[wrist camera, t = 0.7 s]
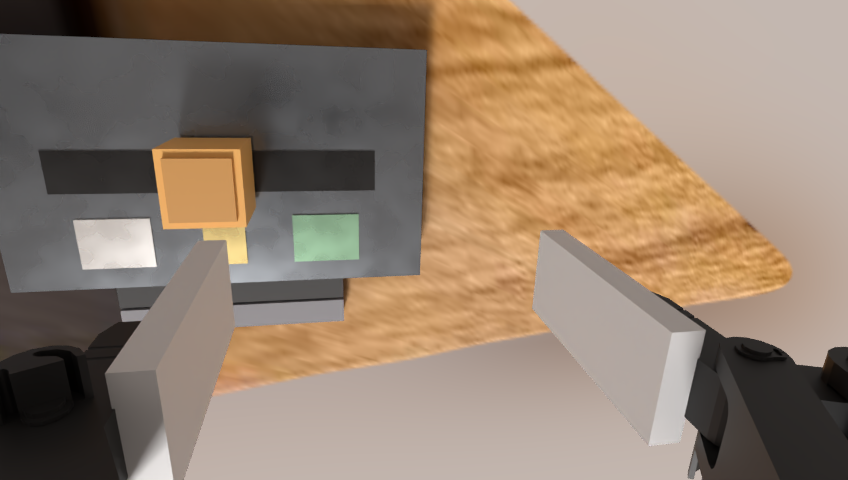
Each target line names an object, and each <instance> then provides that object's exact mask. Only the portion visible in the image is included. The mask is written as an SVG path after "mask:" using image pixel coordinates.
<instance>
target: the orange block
mask: <svg viewBox="0 0 848 480" xmlns="http://www.w3.org/2000/svg"><path fill="white" fill-rule="evenodd" d="M152 154H153V161H154V168H155V175H156V182H157V189H158V196H159V203H160V211H161V218H162V225H163V229H197V228H237V227H247V226H248V223H249V221H250V219H251V217H252V215H253V213H254V210H255V208H256V199H255V186H254V173H253V160H252V147H251V138H173V139H171V140H169V141H167V142H165V143H163V144H161V145H159V146H157V147H155V148H153V149H152Z"/></svg>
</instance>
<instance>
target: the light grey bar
mask: <svg viewBox="0 0 848 480" xmlns="http://www.w3.org/2000/svg"><path fill="white" fill-rule="evenodd" d="M150 308H151V307H136V308H123V309H122V310H121V317H122V322H129V321H142V320H143V318H144V317H145V315H146V314H147V313H148V311H149V310H150ZM233 311H234V321H235V327H244V326H261V325H278V324H296V323H313V322H330V321H344V300H343V297H336V298H316V299H296V300H276V301H256V302H236V303H233Z"/></svg>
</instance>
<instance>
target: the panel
mask: <svg viewBox="0 0 848 480" xmlns="http://www.w3.org/2000/svg"><path fill="white" fill-rule="evenodd" d="M426 58H427V50H415V49H388V48H362V47H335V46H309V45H282V44H256V43H230V42H203V41H177V40H150V39H124V38H97V37H71V36H45V35H18V34H0V250H1V254H2V258H3V262H4V266H5V270H6V274H7V278H8V282H9V286H10V290H11V293H14V292H37V291H60V290H83V289H106V288H129V287H152V286H166V285H167V284H168V283H169V281H170V280H171V278H172V277H173V275H174V274H175V273H176V271H177V270H178V268H179V267H180V265H181V264H182V263H183V261H184V260H185V258H186V257H187V255H188V254H189V253H190V251H191V250H192V248H193V247H194V245H195V244H196V243H197V241H206V240H226V242H227V251H228V261H229V271H230V281H231V283H244V282H267V281H290V280H313V279H336V278H359V277H382V276H405V275H420V254H421V221H422V189H423V156H424V123H425V90H426ZM173 138H251V147H252V160H253V173H254V186H255V199H256V208H255V210H254V213H253V215H252V217H251V219H250V221H249V223H248V226H247V227H237V228H197V229H163V225H162V218H161V211H160V203H159V196H158V189H157V182H156V175H155V168H154V161H153V154H152V149H153V148H155V147H157V146H159V145H161V144H163V143H165V142H167V141H169V140H171V139H173Z"/></svg>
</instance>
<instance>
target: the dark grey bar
mask: <svg viewBox="0 0 848 480" xmlns="http://www.w3.org/2000/svg"><path fill="white" fill-rule="evenodd" d="M165 287H166V286H152V287H129V288H116V289H117V294H118V300H119V305H120V308H136V307H152V305H153V304H154V303H155V301H156V300H157V298H158V297H159V295H160V294H161V293H162V291H163V290H164V288H165ZM231 291H232V301H233V303H236V302H256V301H276V300H296V299H316V298H336V297H343V278H336V279H313V280H290V281H267V282H244V283H231Z"/></svg>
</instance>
